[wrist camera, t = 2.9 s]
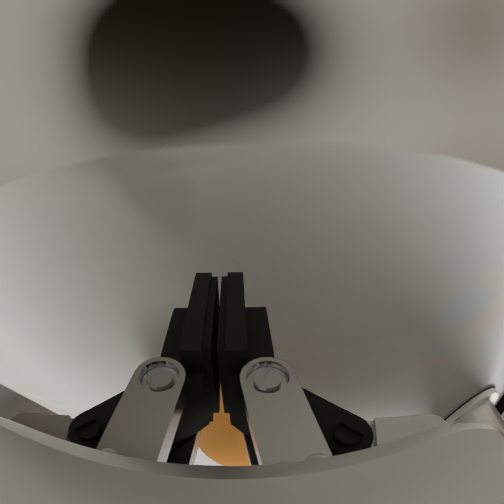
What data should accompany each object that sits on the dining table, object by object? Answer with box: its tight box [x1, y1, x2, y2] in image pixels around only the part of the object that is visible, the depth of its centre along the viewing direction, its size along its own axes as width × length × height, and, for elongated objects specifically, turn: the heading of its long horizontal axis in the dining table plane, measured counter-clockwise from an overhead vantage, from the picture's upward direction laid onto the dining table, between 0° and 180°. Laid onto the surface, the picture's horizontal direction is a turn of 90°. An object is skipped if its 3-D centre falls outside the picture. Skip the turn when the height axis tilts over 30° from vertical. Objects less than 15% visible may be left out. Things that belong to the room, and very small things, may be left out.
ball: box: [199, 384, 250, 466], centre depth 15 cm, size 6×6×6 cm
